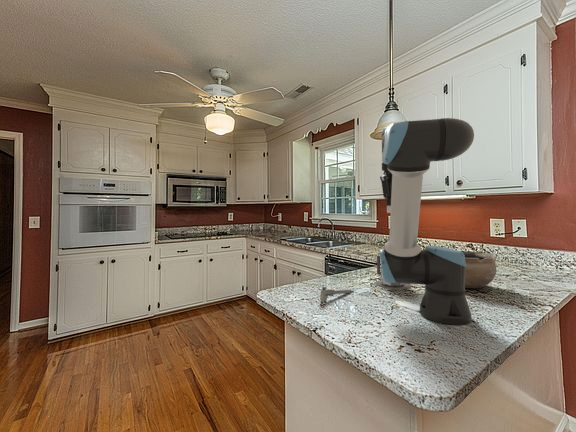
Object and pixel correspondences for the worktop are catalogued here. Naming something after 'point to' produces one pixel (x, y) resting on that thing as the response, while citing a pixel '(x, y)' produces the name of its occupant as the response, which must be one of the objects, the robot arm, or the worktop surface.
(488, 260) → the ceramic bowl
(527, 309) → the worktop surface
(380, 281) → the trivet
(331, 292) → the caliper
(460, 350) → the worktop surface
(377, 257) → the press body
